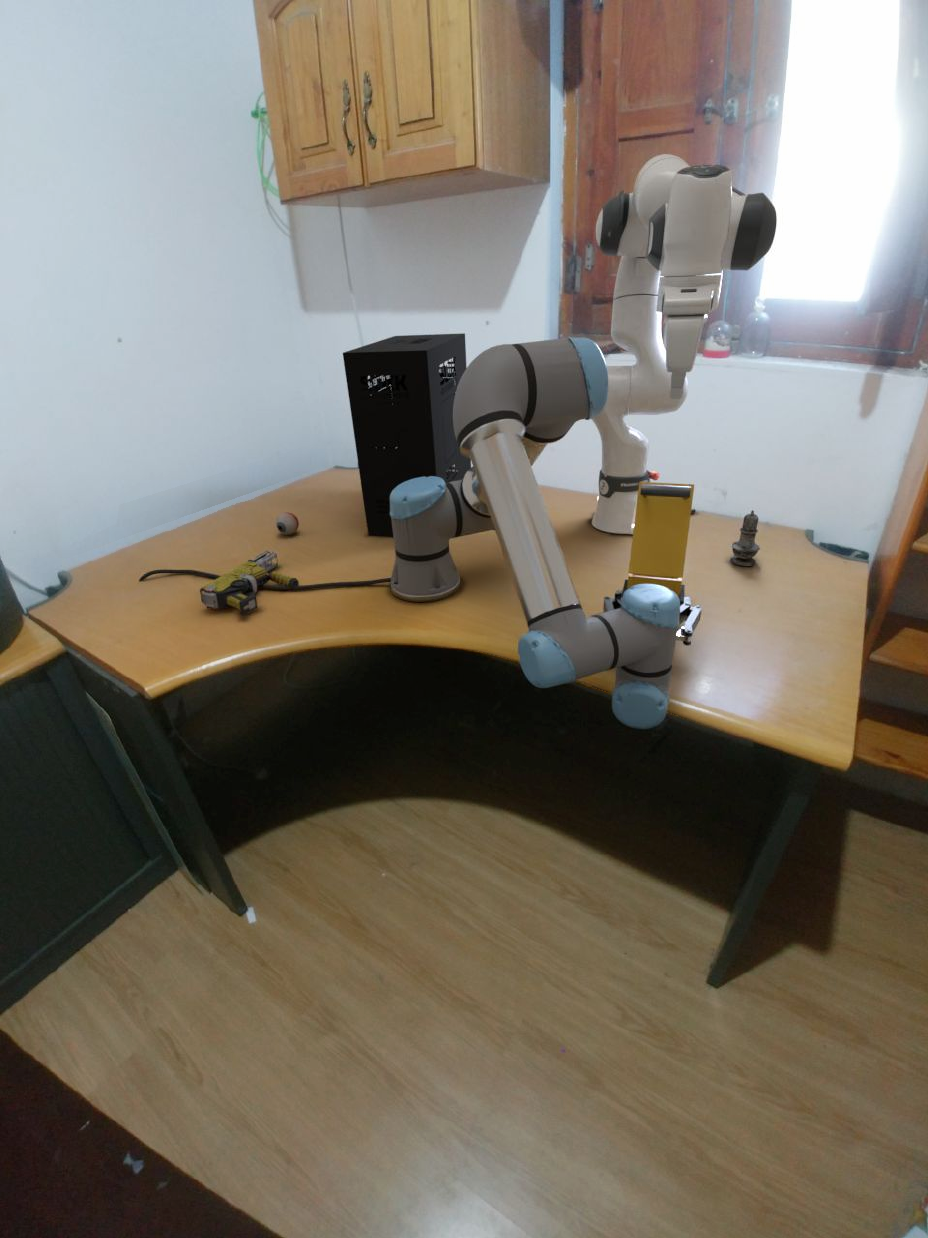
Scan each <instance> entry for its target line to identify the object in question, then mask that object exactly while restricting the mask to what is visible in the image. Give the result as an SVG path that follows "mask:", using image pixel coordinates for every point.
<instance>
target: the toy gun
mask: <svg viewBox="0 0 928 1238" xmlns="http://www.w3.org/2000/svg"><path fill="white" fill-rule="evenodd" d="M274 559H276V562H275V563H274V562H273V560H274ZM278 566H279V560H278V553H277V552H275V551H270V550H265V551H264V552H262V553H260V554H258V555H257V556H255V557H254V558H252V559H248V560H247V561H245V562H243V563H242V564H239V565H238V566H236V567H235V568H232V569H231V570H229V571H228V572H226V573H224V574H223V575H220V576H221V577H219V578H217V579H215V578H214V580H211V581H210V582H208V583H207V584H204V585H203V586H201V587H200V588H199V593H200V599H201V603H202V604H203V606H205V607H206V609H210V610H215V609H217V610H218V609H219V610H221V609H227V608H230V607H233V608H236V609H237V610H239V611H240V616H246V615H247V614H250V613H251V612H253V611H255V610H257V609H258V601H257V600H258V599H257V595H256V593H257V592H258V588H257V587H258V586H259V585H266V584H267V583H268V582H273V583H276V584H279V585H280V586H288V587H290V588H294V586H300V583H299V582H300V581H299V579H298V578H296V577H290V576H289V575H286V574H283V573H281V572H278V571H272V570H273V569H274V568H276V567H278ZM269 571H271V573H270V574H269V573H268V572H269Z"/></svg>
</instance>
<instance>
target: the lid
mask: <svg viewBox="0 0 928 1238" xmlns="http://www.w3.org/2000/svg"><path fill="white" fill-rule="evenodd" d="M694 492H695V484H691V483H673V482H651V481H650V482H639V489H638V497H637V506H636V514H635V523H634V531H633V534H632V539H631V549H630V558H629V564H628V574H629V573H631V574H642V575H653V576H664V577H675V578H682V579H683V578H684V577H683V576H684V571H685V561H686V553H687V545H688V539H689V531H690V523H691V515H692V513H691V510H692V506H693V498H694Z"/></svg>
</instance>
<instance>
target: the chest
mask: <svg viewBox="0 0 928 1238" xmlns="http://www.w3.org/2000/svg"><path fill="white" fill-rule="evenodd" d="M627 580H628V585H627V590H628V589H629V588H630V587H631V586H634V585H637V584H657V585H661V586H664V587H667V588H668V589H669V590H671V591H673V592H675V593H676V594H677V596H678V597H680V591H681V585H683V584H682V583H683V578H675V577H664V576H653V575H642V574H631V573H629V572H628V577H627Z"/></svg>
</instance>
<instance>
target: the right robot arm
mask: <svg viewBox="0 0 928 1238" xmlns="http://www.w3.org/2000/svg"><path fill="white" fill-rule="evenodd" d="M632 190H633V191H632V192H625V190H624V189H622V190H620V191H619V193H618V194H617V195H615V196H613V197H611V198H609V199H607V201H606V202H605V203H604V204H603V205H602V206H601V210H600V211H599V213H598V217H597V219H596V224H595V238H596V243H597V245H598V246H597V247H598V249H599V251H600V253H601V254H603V255H606V256H608V257H617V256H621V258H620V260H619V264H618V268H617V273H616V277H615V283H614V289H613V298H612V299H613V300H612V310H611V311H612V312H611V322H610V323H611V325H610V337H611V340H612V341H613V342H614V344H615V345H616V346H618V347H619V348H621V349H623V350H624V351H627V352H629V353H631V354H632V355H633V356H634V357H635V360H636V363H635V364H633V365H606V366H607V371H608V387H609V389H608V397H607V401H606V405H605V407H604V409H603V411H602V412H601V413H600V414H599V415H598V416H596V417H593V418H591V419H590V420H591V421H592V422H593V424H594V425H595V427H596V429H597V431H598V434H599V436H600V437H599V438H600V443H601V468H600V470H599V474H598V492H599V493H598V496H597V498H596V499H597V502H596V507H595V511H594V514H593V517H592V520H591V525H592V526H593V527H594V528H595V529H597V530H599V531H601V532H605V533H611V534H623V535H625V534H626V535H633V531H634V523H635V514H636V506H637V497H638V489H639V482H651V480H653V481H658V479H659V478H660V473H659V472H657V471H654V470H651V471H649V470H648V469H647V466H648V458H649V457H648V456H649V447H650V443H649V440H648V438H647V437H646V435H645V434H644V433H643V432H641V431H640V430H639V429H636V428H634V427H632V426H630V425H629V424H628V423H627V422H626V420H625V417H626V416H658V415H664V414H669V413H674V412H677V411H678V410H679V409H680V408H681V407H682V406H683V404H684V403H685V401H686V399H687V397H688V392H689V382H688V377H687V373H691V372H692V370H693V368H694V366H695V361H696V359H697V358H696V357H697V355H698V350H699V345H700V342H701V341H700V340H701V337H702V332H703V329H704V325H705V323H707V322H708V316H709V314H710V313H711V312H713V311H716V310H718V308H719V302H720V295H721V289H722V280H723V273H724V271H725V270H730V271H749V270H751V268H753V267H754V266H756V265H757V264H758V263H759V262H761V260H762V259H763V258H764V257H765V256H766V255H767V254H768V253H769V252H770V250H771V248H772V246H773V243H774V240H775V236H776V231H777V224H778V223H777V221H778V218H777V217H778V216H777V211H776V207H775V205H774V204H773V202H772V201H771V199H770V198H769V197H768V196H767V195H766V194H765V193H764V192H755V193H747V194H746V193H744V192H742V191H741V190H739V189H737V188H735V187H734V186H733V177H732V170H731V168H728V167H727V166H725V165H721V164H702V165H692V166H691V165H689V164H688V162H686V161H685V160H684V159H683V158H681V157H680V156H677V155H675V154H670V153H662V154H658V155H655V156H653V157H652V158H650V159H649V160H647V161H646V162H645V163H644V165H643V166H642V167H641V169H640V170H639V171H638V174H637V176H636V178H635V180H634V185H633V189H632ZM663 317H664V318H663ZM662 319H663V321H662ZM662 323H663V324H665V345H664V342H663V341H664V340H663V336H662V334H663V333H662ZM696 511H697V510H696V509H695V508H694V509H691V514H695V513H696Z"/></svg>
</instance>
